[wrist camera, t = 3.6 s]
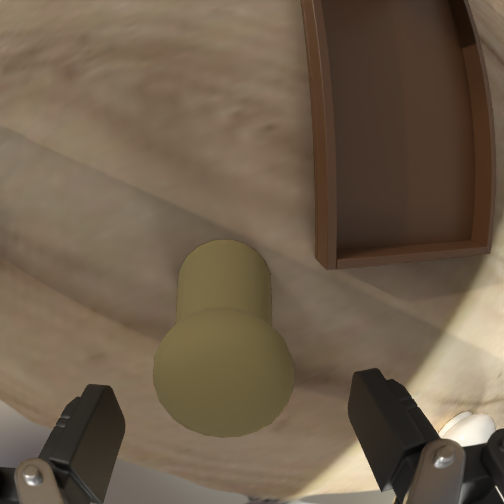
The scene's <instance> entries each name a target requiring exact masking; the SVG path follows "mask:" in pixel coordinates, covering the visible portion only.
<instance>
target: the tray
mask: <svg viewBox="0 0 504 504" xmlns="http://www.w3.org/2000/svg"><path fill="white" fill-rule="evenodd" d="M301 7H302V14H303V22H304V31H305V40H306V49H307V60H308V70H309V82H310V95H311V110H312V127H313V147H314V174H315V258H316V259H317V260H318V261H319V262H320V263H321V264H322V265H323V266H324V267H325V268H326V269H327V270H333V269H344V268H356V267H366V266H377V265H388V264H398V263H408V262H418V261H427V260H436V259H446V258H455V257H463V256H472V255H480V254H490V251H491V243H492V235H493V225H494V213H495V195H496V149H495V131H494V119H493V110H492V102H491V94H490V88H489V82H488V76H487V71H486V66H485V61H484V56H483V52H482V48H481V44H480V40H479V36H478V32H477V29H476V25H475V22H474V19H473V15H472V12H471V9H470V6H469V3H468V0H301Z"/></svg>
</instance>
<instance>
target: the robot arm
mask: <svg viewBox="0 0 504 504" xmlns="http://www.w3.org/2000/svg"><path fill="white" fill-rule="evenodd" d="M348 415H349V419H350V422H351V424H352V426H353V429H354V431H355V433H356V435H357V438H358V440H359V442H360V444H361V447H362V449H363V451H364V453H365V456H366V458H367V460H368V463H369V465H370V467H371V469H372V472H373V474H374V476H375V479H376V481H377V483H378V486H379V488H380V490H381V492H384V491H387V490H390V489H393V490H394V492H395V494H396V496H395V497H394V499H393V502H392V504H504V501H503V499H502V498H501V496H500V494H499V492H498V491H497V489H496V486H497V488H498V490H499V491H500V493H501V495H502V496H503V498H504V429H499V430H496V431H495V432H494V433H493V434H492V435H491V436H490V438H489V439H488V441H487V442H486V443H482V444H476V445H471V446H464V447H462V446H461V445H460V444H459V443H457V442H456V441H454V440H451V439H444V438H441V437H440V436H439V435H438V433H437V432H436V430H435V429H434V428H433V426H432V425H431V423H430V422H429V420H428V419H427V418H426V416H425V415H424V413H423V412H422V411H421V409H420V408H419V407H417V404H416V402H415V401H414V399H412V397H411V395H410V394H409V392H408V391H407V390H406V388H405V387H404V386H403V385H401V384H399V383H398V382H396V381H395V380H393V379H390V380H386V379H385V378H384V376H383V375H382V373H381V372H380V370H379V369H378V368H372V369H368V370H363V371H357V372H355V373H354V375H353V379H352V385H351V391H350V396H349V402H348ZM124 433H125V419H124V416H123V414H122V411H121V409H120V407H119V404H118V402H117V399H116V397H115V394H114V392H113V389H112V388H111V387H110V386H108V385H96V384H89V385H87V387H86V388H85V390H84V392H83V394H82V395H81V397H76V398H75V399H73V400H72V401H71V402H70V403H69V404H68V405H66V407H65V409H64V411H63V412H62V414H61V418H59V420H58V421H57V423H56V426H55V427H54V429H53V430H52V432H51V434H50V436H49V438H48V440H47V442H46V444H45V445H44V447H43V449H42V451H41V453H40V455H39V457H38V458H29V459H26V460H24V461H22V462H21V463H20V464H19V465H18V466H17V468H4V467H0V504H90V502H92V503H96V504H103V502H104V498H105V495H106V491H107V488H108V485H109V481H110V478H111V474H112V471H113V468H114V464H115V461H116V458H117V455H118V452H119V449H120V446H121V442H122V439H123V436H124Z"/></svg>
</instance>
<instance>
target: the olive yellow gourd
mask: <svg viewBox="0 0 504 504" xmlns="http://www.w3.org/2000/svg"><path fill="white" fill-rule="evenodd" d="M153 381H154V386H155V389H156V392H157V395H158V398H159V401H160V402H161V404H162V405H163V407H164V408H165V409H166V411H167V412H168V413H169V414H170V415H171V417H172V418H173V419H174V420H175V421H177V422H178V423H180V424H181V425H183V426H184V427H186V428H187V429H189V430H192V431H195V432H197V433H200V434H203V435H207V436H214V437H222V438H223V437H238V436H243V435H247V434H250V433H253V432H257V431H259V430H260V429H262V428H264V427H266V426H267V425H269V424H271V423H272V422H273V421H274V420H275V419H276V418H277V417H278V416H279V415H280V414H281V413H282V411H283V410H284V408H285V407H286V405H287V403H288V401H289V399H290V396H291V394H292V392H293V387H294V363H293V360H292V357H291V354H290V352H289V350H288V348H287V345H286V343H285V341H284V339H283V338H282V337H281V336H280V335H279V334H278V333H277V332H276V331H275V330H274V329H273V328H272V297H271V274H270V272H269V269H268V267H267V264H266V262H265V260H264V259H263V258H262V257H261V256H260V255H259V254H258V252H257V251H256V250H255V249H253V248H251V247H249V246H248V245H246V244H244V243H242V242H238V241H233V240H229V239H224V240H213V241H210V242H208V243H205V244H203V245H201V246H198V247H197V248H196V249H195V250H194V251H193V252H191V253H190V254H189V255H188V256H187V257H186V259H185V261H184V263H183V265H182V266H181V268H180V272H179V278H178V287H177V305H176V325H175V326H174V327H173V328H172V329H170V330H169V331H168V332H167V333H166V335H165V337H164V339H163V341H162V342H161V344H160V346H159V348H158V350H157V353H156V355H155V358H154V369H153Z"/></svg>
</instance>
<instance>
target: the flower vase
mask: <svg viewBox="0 0 504 504" xmlns="http://www.w3.org/2000/svg"><path fill="white" fill-rule="evenodd" d="M495 431H496V425H495V422H494V419H493V418H492V417H491V416H490V415H489V414H486V413H476V414H473V413H471V412H470V411H466V412H463V413H461V414H459V415H457V416H455V417H454V418H453V419H451V420H450V421H449V422H448V423H447V424H446V425H445V426H444V427H443V428H442V429H441V430H440V431H439V433H438V435H439V436H440V437H441V438H444V439H451V440H454V441H456V442H457V443H459V444H460V445H461V446H462V447H464V446H471V445H476V444H482V443H486V442H487V441H488V439H489V438H490V436H491V435H492V434H493V433H494V432H495ZM496 489H497V491H498V492H499V494H500V496H501V498H502V499H503V501H504V498H503V496H502V495H501V493H500V491H499V490H498V488H497V486H496Z"/></svg>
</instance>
